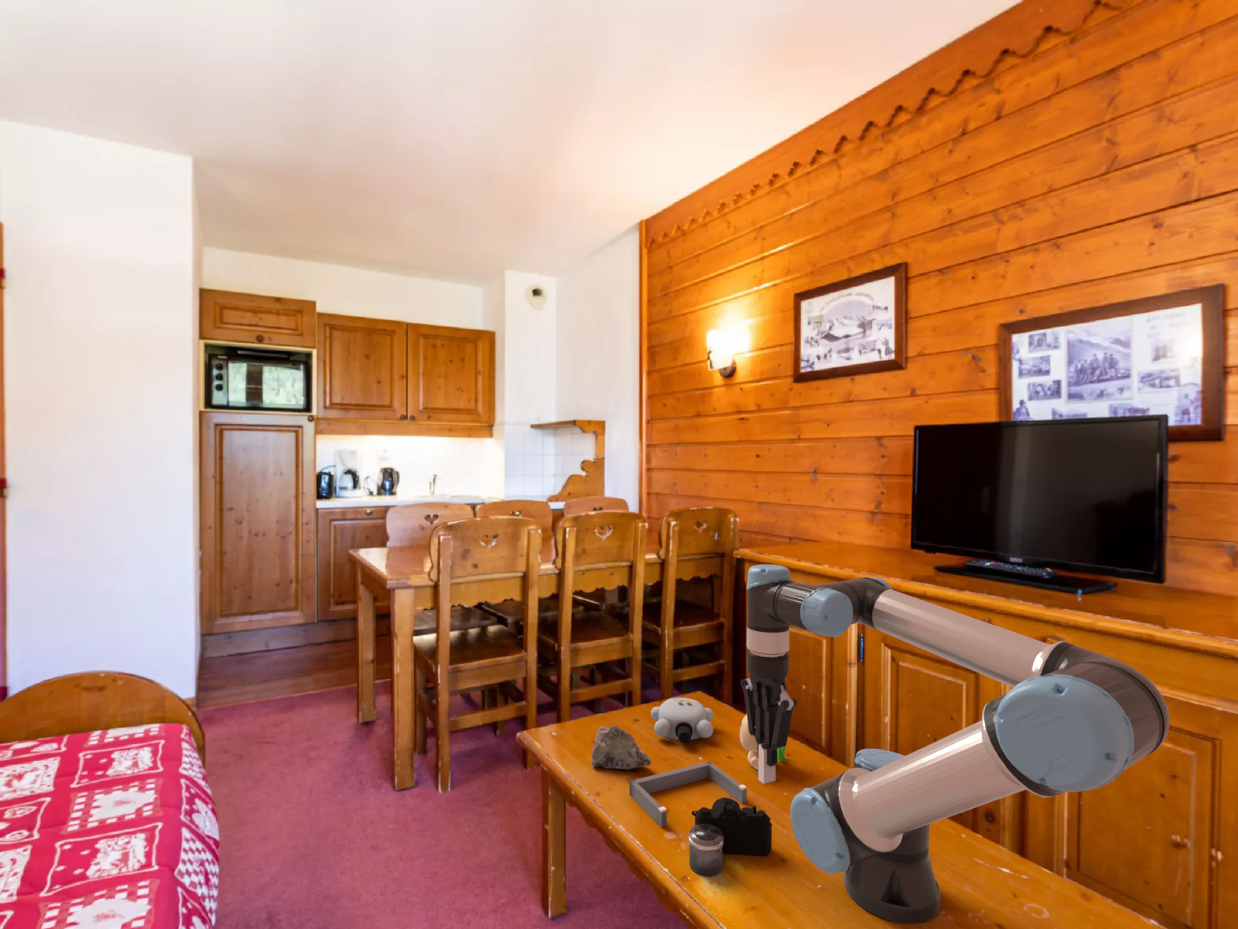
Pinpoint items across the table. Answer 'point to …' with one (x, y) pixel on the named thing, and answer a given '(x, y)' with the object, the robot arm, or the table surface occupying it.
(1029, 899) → the table surface
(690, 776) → the bracket
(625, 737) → the mineral rock
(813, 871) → the table surface
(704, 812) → the film camera
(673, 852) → the table surface
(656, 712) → the figurine
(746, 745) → the kitten
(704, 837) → the lens
